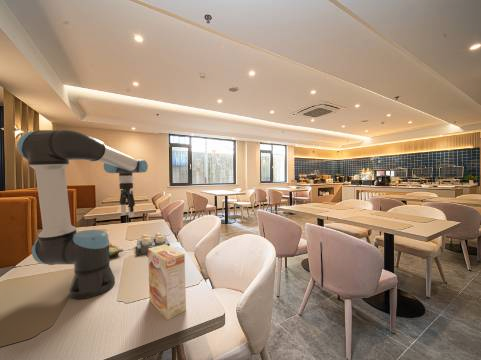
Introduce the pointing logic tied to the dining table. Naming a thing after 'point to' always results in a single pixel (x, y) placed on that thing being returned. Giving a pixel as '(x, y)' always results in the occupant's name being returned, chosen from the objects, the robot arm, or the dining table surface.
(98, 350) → the dining table surface
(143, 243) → the button
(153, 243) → the button board
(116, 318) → the dining table surface
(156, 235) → the button
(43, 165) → the robot arm
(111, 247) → the puzzle game
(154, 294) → the coffeecake box
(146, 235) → the button
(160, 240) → the button
